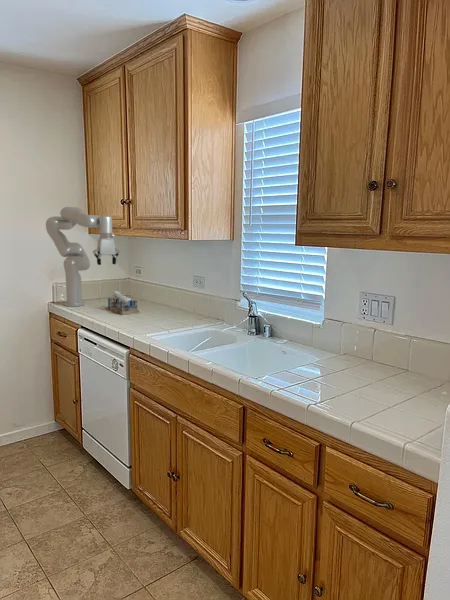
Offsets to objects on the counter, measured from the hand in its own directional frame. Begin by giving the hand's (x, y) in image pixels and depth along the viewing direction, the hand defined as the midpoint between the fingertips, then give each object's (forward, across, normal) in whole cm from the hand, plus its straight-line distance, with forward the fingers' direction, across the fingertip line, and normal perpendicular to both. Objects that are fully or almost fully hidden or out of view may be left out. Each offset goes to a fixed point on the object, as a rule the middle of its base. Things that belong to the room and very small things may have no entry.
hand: (106, 264), depth 279 cm
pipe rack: (+28, -5, +10) cm, 30 cm away
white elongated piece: (+24, -5, +10) cm, 26 cm away
